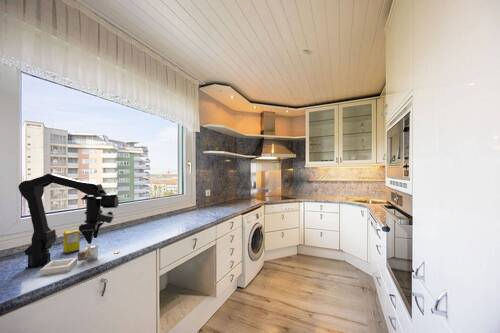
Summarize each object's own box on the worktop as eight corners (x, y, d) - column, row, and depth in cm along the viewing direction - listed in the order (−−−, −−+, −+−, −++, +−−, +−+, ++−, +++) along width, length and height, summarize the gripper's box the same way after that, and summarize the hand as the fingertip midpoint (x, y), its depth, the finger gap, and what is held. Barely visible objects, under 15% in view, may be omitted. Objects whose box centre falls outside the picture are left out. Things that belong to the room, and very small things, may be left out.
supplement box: (76, 248, 120) (77, 229, 120) (79, 251, 116) (79, 230, 116) (62, 251, 115) (63, 231, 116) (65, 254, 111) (65, 233, 112)
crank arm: (85, 252, 110) (86, 244, 110) (92, 252, 111) (93, 244, 111) (76, 263, 97) (76, 253, 97) (84, 261, 98) (84, 252, 98)
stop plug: (86, 262, 101) (86, 248, 101) (89, 259, 105) (89, 246, 105) (96, 261, 102) (96, 247, 103) (98, 258, 106) (99, 244, 106)
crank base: (80, 258, 105) (80, 256, 105) (84, 255, 110) (84, 253, 110) (118, 253, 111) (118, 252, 111) (119, 250, 116) (119, 248, 116)
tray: (39, 276, 88) (39, 269, 88) (51, 266, 97) (51, 261, 97) (68, 271, 91) (68, 265, 91) (77, 263, 100) (77, 257, 100)
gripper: (108, 210, 99) (107, 244, 98) (116, 205, 116) (115, 233, 116) (78, 212, 95) (77, 247, 94) (91, 206, 112) (91, 236, 111)
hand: (92, 240), depth 104 cm, fingers open, 9 cm apart
